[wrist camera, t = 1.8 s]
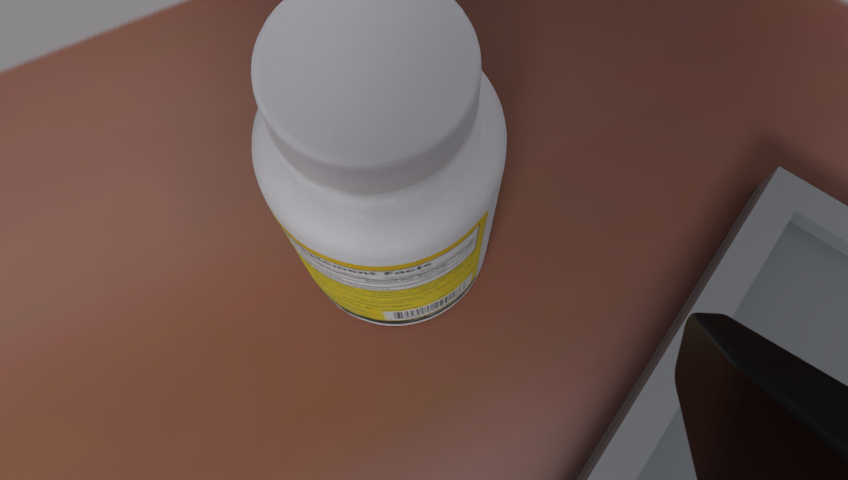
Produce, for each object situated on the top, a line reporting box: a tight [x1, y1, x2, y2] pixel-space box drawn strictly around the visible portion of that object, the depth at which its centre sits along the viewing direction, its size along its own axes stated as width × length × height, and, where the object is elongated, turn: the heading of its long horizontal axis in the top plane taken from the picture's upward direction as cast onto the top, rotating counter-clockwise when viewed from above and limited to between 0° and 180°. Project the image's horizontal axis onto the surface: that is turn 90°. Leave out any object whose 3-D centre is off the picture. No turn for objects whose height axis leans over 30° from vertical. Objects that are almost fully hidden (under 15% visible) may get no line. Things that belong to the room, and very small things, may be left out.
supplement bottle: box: [251, 0, 507, 326], centre depth 17 cm, size 5×5×10 cm
